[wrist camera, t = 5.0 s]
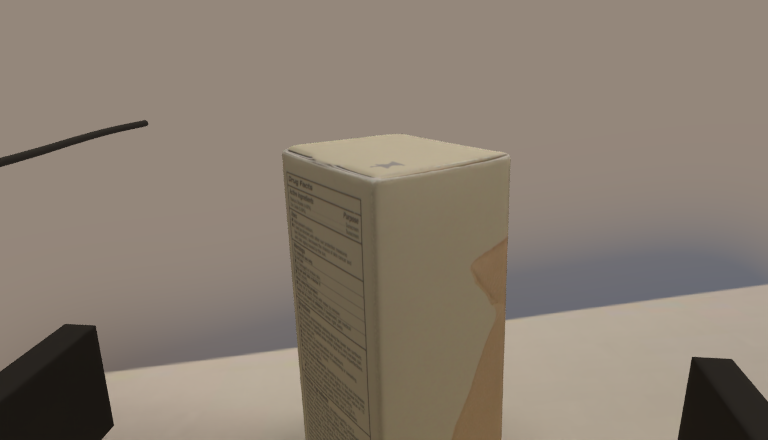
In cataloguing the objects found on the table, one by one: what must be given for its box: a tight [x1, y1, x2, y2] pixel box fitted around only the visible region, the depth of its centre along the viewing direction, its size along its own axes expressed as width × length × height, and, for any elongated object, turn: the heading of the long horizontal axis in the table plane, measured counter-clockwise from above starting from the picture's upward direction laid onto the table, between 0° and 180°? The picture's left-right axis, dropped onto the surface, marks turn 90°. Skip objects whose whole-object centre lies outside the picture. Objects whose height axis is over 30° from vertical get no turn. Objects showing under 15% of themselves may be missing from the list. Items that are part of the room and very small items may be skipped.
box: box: [282, 134, 511, 440], centre depth 17 cm, size 5×4×11 cm
